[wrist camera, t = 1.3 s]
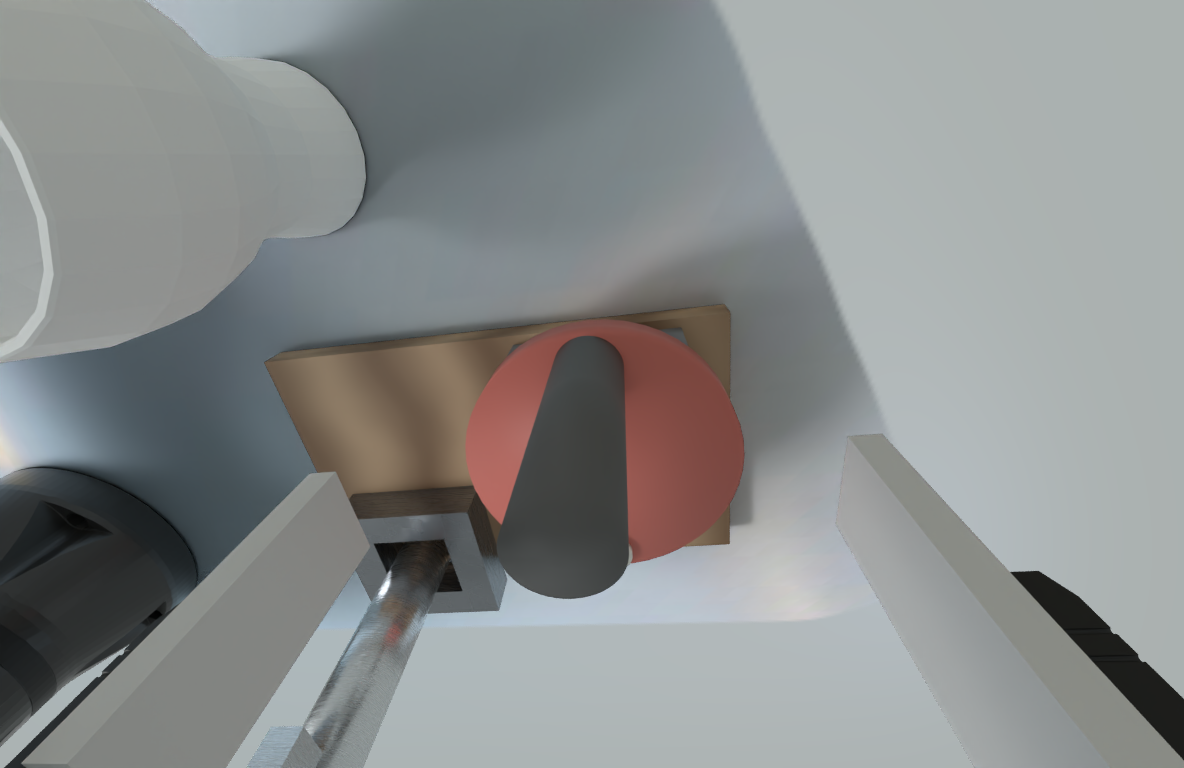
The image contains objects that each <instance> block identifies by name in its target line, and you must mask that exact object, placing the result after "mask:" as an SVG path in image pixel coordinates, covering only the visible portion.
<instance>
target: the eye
mask: <svg viewBox="0 0 1184 768" xmlns="http://www.w3.org/2000/svg"><path fill="white" fill-rule="evenodd" d="M349 501H350V504H351V506H352V508H353V510H354V512H355V514H356V517H357V519H358V521H359V523H360V525H361V527H362V529H363V532H364V534H365V536H366V538H367V540H368V542H369V545H370V548H369V550H368V551H367V553H366V554H365V556H364V557H363V559H362V560H361V562H360V563H359V565H358V566H357V568H356V569H355V570H356V572H357V574H358V576H359V578H360V580H361V582H362V584H363V586H364V588H365V590H366V592H367V594H368V596H369V598H370V600H371V602H372V600H373V598H374V596H375V594H376V593H377V591H378V589H379V587H380V585H381V584H382V582H383V580H384V578H385V577H386V575H387V573H388V571H389V569H390V568H391V566H392V564H393V562H394V560H395V559H396V557H397V555H398V553H399V551H400V550H401V548H402V546H403V542H409V541H426V540H442V539H444V541H445V544H446V547H447V549H448V552H449V555H450V558H451V560H452V562H449V564H448V566H447V568H446V571H445V573H444V575H443V578H442V580H441V583H440V585H439V587H438V590H437V592H436V595H435V597H434V599H433V602H432V604H431V607H430V609H429V611H428V614H429V613H453V612H477V611H499V608H500V605H501V601H502V597H503V593H504V589H505V586H506V582H507V578H506V575H505V571H504V568H503V566H502V564H501V563H500V560H499V557H498V553H497V544H496V541H495V538H494V534H493V531H492V528H491V524H490V521H489V518H488V514H487V511H486V508H485V505H484V504H483V503H482V501H481V499H480V497H479V496H478V494H477V492H476V490H475V488H474V485H473V486H459V487H445V488H431V489H417V490H403V491H389V492H375V493H361V494H353V495H352V496H351V497H350V498H349Z"/></svg>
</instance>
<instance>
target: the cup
mask: <svg viewBox="0 0 1184 768" xmlns="http://www.w3.org/2000/svg"><path fill="white" fill-rule="evenodd" d="M365 181H366V172H365V159H364V153H363V150H362V147H361V143H360V140H359V137H358V134H357V131H356V129H355V127H354V126H353V124H352V122H351V120H350V118H349V116H348V115H347V113H346V111H345V109H344V108H343V107H342V106H341V104H340V103H339V102H338V101H337V100H336V98H335V97H334V96H333V95H332V94H331V93H330V91H329V90H328V89H327V88H326V87H325V86H323V85H322V84H321V83H319V82H318V81H317V80H316V79H314V78H313V77H312V76H310V75H309V74H308V73H307V72H304V71H302V70H300V69H298V68H296V67H293V66H291V65H289V64H287V63H285V62H279V61H273V60H266V59H259V58H248V57H214V56H212V55H209V54H207V53H206V52H205V51H204V50H203V49H202V48H201V47H200V46H199V45H198V44H197V43H196V42H195V41H194V40H193V39H192V38H191V37H190V36H189V35H188V34H187V33H186V32H185V31H184V30H183V29H182V28H181V27H180V26H179V25H178V24H176V23H175V22H174V21H172V20H171V19H170V18H168V17H167V16H166V15H164V14H163V13H162V12H160V11H159V10H158V9H156V8H155V7H154V6H152V5H151V4H150V3H148V2H147V1H146V0H0V363H4V362H11V361H18V360H25V359H32V358H39V357H46V356H53V355H60V354H67V353H74V352H81V351H87V350H94V349H101V348H108V347H113V346H115V345H118V344H121V343H123V342H126V341H128V340H131V339H134V338H136V337H139V336H142V335H144V334H147V333H149V332H152V331H155V330H157V329H160V328H163V327H165V326H168V325H170V324H173V323H175V322H177V321H179V320H181V319H183V318H185V317H187V316H189V315H192V314H194V313H196V312H198V311H200V310H202V309H203V308H204V307H205V306H206V305H207V304H208V303H209V302H210V301H212V300H213V299H214V298H215V297H216V296H217V295H218V294H219V293H220V292H222V291H223V290H224V289H225V288H226V287H227V286H228V285H229V284H230V283H232V282H233V281H234V280H235V279H236V278H237V277H238V276H239V275H240V274H241V273H242V272H243V270H244V269H245V268H246V267H247V266H248V265H249V264H250V263H251V262H252V261H253V260H254V259H255V257H256V255H257V253H258V251H259V249H260V246H261V244H262V242H263V241H264V240H266V239H268V238H303V237H313V236H321V235H327V234H329V233H331V232H333V231H335V230H337V229H339V228H341V227H343V226H344V225H345V224H346V223H347V222H348V221H349V220H350V219H351V218H352V217H353V216H354V214H355V212H356V210H357V208H358V206H359V204H360V202H361V200H362V198H363V192H364V187H365Z"/></svg>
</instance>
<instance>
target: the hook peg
mask: <svg viewBox="0 0 1184 768" xmlns="http://www.w3.org/2000/svg"><path fill="white" fill-rule="evenodd" d="M450 559H451V558H450V555H449V552H448V549H447V547H446V544H445V541H444V539H442V540H426V541H409V542H404V544H403V546H402V548H401V550H400V551H399V553H398V555H397V557H396V559H395V560H394V562H393V564H392V566H391V568H390V569H389V571H388V573H387V575H386V577H385V578H384V580H383V582H382V584H381V585H380V587H379V589H378V591H377V593H376V594H375V596H374V598H373V600H372V602H371V603H370V605H369V607H368V609H367V611H366V612H365V614H364V616H363V618H362V620H361V621H360V623H359V625H358V627H357V629H356V630H355V632H354V634H353V636H352V638H351V639H350V641H349V643H348V645H347V647H346V648H345V650H344V652H343V654H342V656H341V657H340V659H339V661H338V663H337V665H336V666H335V668H334V670H333V672H332V674H331V675H330V677H329V679H328V681H327V683H326V684H325V686H324V688H323V690H322V692H321V694H320V695H319V697H318V699H317V701H316V703H315V704H314V706H313V708H312V710H311V711H310V713H309V715H308V717H307V719H306V720H305V722H304V724H303V726H287V727H285V726H284V727H271V728H270V730H269V731H268V733H267V734H266V736H265V738H264V739H263V741H262V743H261V744H260V746H259V748H258V749H257V751H256V753H255V754H254V756H253V758H252V759H251V761H250V762H249V764H248V766H247V767H246V768H363V767H364V764H365V762H366V759H367V757H368V755H369V752H370V750H371V747H372V745H373V743H374V740H375V738H376V736H377V733H378V731H379V728H380V726H381V723H382V721H383V719H384V716H385V714H386V712H387V709H388V707H389V704H390V702H391V700H392V697H393V695H394V693H395V690H396V688H397V685H398V683H399V681H400V678H401V675H402V673H403V671H404V669H405V666H406V664H407V661H408V659H409V657H410V654H411V652H412V649H413V647H414V645H415V642H416V640H417V638H418V635H419V633H420V630H421V628H422V626H423V623H424V621H425V618H426V616H427V614H428V611H429V609H430V607H431V604H432V602H433V599H434V597H435V595H436V592H437V590H438V587H439V585H440V583H441V580H442V578H443V575H444V573H445V571H446V568H447V566H448V564H449V561H450Z"/></svg>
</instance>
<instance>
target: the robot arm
mask: <svg viewBox="0 0 1184 768" xmlns="http://www.w3.org/2000/svg"><path fill="white" fill-rule="evenodd" d="M836 526H837V528H838V529H839V531H840V533H841V535H842V536H843V538H844V540H845V542H846V543H847V545H848V547H849V549H850V550H851V552H852V554H853V556H854V557H855V559H856V561H857V563H858V564H859V566H860V568H861V570H862V571H863V573H864V575H865V577H866V578H867V580H868V582H869V584H870V585H871V587H872V589H873V591H874V592H875V594H876V596H877V598H878V599H879V601H880V603H881V605H882V607H883V608H884V610H885V612H886V613H887V615H888V617H889V619H890V621H891V622H892V624H893V626H894V628H895V629H896V631H897V633H898V634H899V636H900V638H901V640H902V642H903V643H904V645H905V647H906V648H907V650H908V652H909V654H910V655H911V657H912V659H913V661H914V663H915V664H916V666H917V668H918V670H919V671H920V673H921V675H922V677H923V678H924V680H925V682H926V684H927V685H928V687H929V689H930V691H931V692H932V694H933V696H934V698H935V699H936V701H937V703H938V705H939V706H940V708H941V710H942V712H943V713H944V715H945V717H946V718H947V720H948V722H949V724H950V726H951V728H952V729H953V731H954V733H955V734H956V736H957V738H958V740H959V741H960V743H961V745H962V747H963V749H964V750H965V752H966V754H967V756H968V757H969V759H970V761H971V762H972V764H973V766H974V768H1184V699H1183V698H1182V697H1181V696H1180V695H1179V694H1178V693H1177V692H1176V691H1175V690H1174V689H1173V688H1172V687H1171V686H1170V685H1169V684H1168V683H1167V682H1166V681H1165V680H1164V679H1163V678H1162V677H1161V676H1160V675H1159V674H1158V673H1156V671H1154V669H1152V668H1151V667H1150V666H1149V665H1148V664H1147V663H1146V662H1142V661H1141V660H1140V659H1139V658H1138V654H1137V653H1136V652H1135V651H1134V650H1133V649H1132V648H1131V647H1130V646H1129V645H1128V644H1127V643H1126V642H1125V641H1124V640H1123V639H1121V637H1120V636H1119V635H1117V634H1113V633H1112V632H1111V630H1110V627H1109V626H1108V625H1107V624H1106V623H1105V622H1104V621H1103V620H1102V619H1101V618H1100V617H1099V616H1098V615H1097V614H1096V613H1095V612H1094V611H1093V610H1092V609H1091V608H1090V607H1089V606H1088V605H1087V604H1086V603H1085V602H1084V601H1083V600H1082V599H1081V598H1079V597H1078V596H1077V595H1075V594H1074V593H1072V592H1070V591H1069V590H1067V589H1066V588H1064V587H1063V586H1061V585H1060V584H1058V583H1056V582H1055V581H1053V580H1052V579H1050V578H1049V577H1047V576H1046V575H1044V574H1042V573H1041V572H1039V571H1026V572H1009V571H1008V570H1007V569H1006V568H1005V566H1004V565H1003V564H1002V563H1001V562H1000V561H999V560H998V559H997V558H996V557H995V556H994V555H993V553H992V552H991V551H990V550H989V549H988V548H987V547H986V546H985V545H984V544H983V543H982V541H981V540H980V539H979V538H978V537H977V536H976V535H975V534H974V533H973V532H972V531H971V530H970V528H969V527H968V526H967V525H966V524H965V523H964V522H963V521H962V520H961V519H960V518H959V517H958V515H957V514H956V513H955V512H954V511H953V510H952V509H951V508H950V507H949V506H948V505H947V504H946V502H945V501H944V500H943V499H942V498H941V497H940V496H939V495H938V494H937V493H936V492H935V491H934V489H933V488H932V487H931V486H930V485H929V484H928V483H927V482H926V481H925V480H924V479H923V478H922V476H921V475H920V474H919V473H918V472H917V471H916V470H915V469H914V468H913V467H912V466H911V465H910V463H909V462H908V461H907V460H906V459H905V458H904V457H903V456H902V455H901V454H900V453H899V452H898V450H897V449H896V448H895V447H894V446H893V445H892V444H891V443H890V442H889V441H888V440H887V439H886V437H885V436H884V435H883V434H873V435H859V436H848V438H847V446H846V453H845V460H844V467H843V475H842V482H841V489H840V496H839V504H838V511H837V518H836ZM369 548H370V545H369V542H368V540H367V538H366V536H365V534H364V532H363V529H362V527H361V525H360V523H359V521H358V519H357V517H356V514H355V512H354V510H353V508H352V506H351V504H350V501H349V499H348V497H347V495H346V493H345V491H344V489H343V486H342V484H341V482H340V480H339V478H338V476H337V473H336V472H323V473H310V474H309V475H308V476H307V477H306V478H305V479H304V480H303V481H302V482H301V483H300V484H299V485H298V486H297V487H296V488H295V489H294V490H293V491H292V492H291V493H290V494H289V495H288V496H287V497H286V498H285V499H284V500H283V501H282V502H281V503H280V504H279V505H278V506H277V507H276V508H275V509H274V510H273V511H272V512H271V513H270V514H269V515H268V516H267V517H266V518H265V519H264V520H263V521H262V522H261V523H260V524H259V525H258V526H257V527H256V528H255V529H254V530H253V531H252V532H251V533H250V534H249V535H248V536H247V537H246V538H245V539H244V540H243V541H242V542H241V543H240V544H239V545H238V546H237V547H236V548H235V549H234V550H233V551H232V552H231V553H230V554H229V555H228V556H227V557H226V558H225V559H224V560H223V561H222V562H221V563H220V564H219V565H218V566H217V567H216V568H215V569H214V570H213V571H212V572H211V573H210V574H209V575H208V576H207V577H206V578H205V579H204V580H203V581H202V582H201V583H200V584H199V585H198V586H197V587H196V588H195V586H196V580H197V572H196V567H195V563H194V560H193V557H192V555H191V553H190V551H189V549H188V548H187V546H186V544H185V543H184V541H183V540H182V539H181V537H180V536H179V535H178V534H177V532H176V531H175V530H174V529H173V528H172V527H171V526H170V525H169V524H168V523H167V522H166V521H165V520H164V519H163V518H162V517H161V516H159V515H158V514H157V513H156V512H154V511H153V510H152V509H151V508H149V507H148V506H146V505H145V504H144V503H142V502H141V501H139V500H138V499H136V498H134V497H133V496H131V495H129V494H128V493H126V492H124V491H122V490H120V489H118V488H116V487H114V486H112V485H110V484H107V483H105V482H103V481H100V480H98V479H95V478H92V477H89V476H86V475H82V474H79V473H75V472H71V471H66V470H59V469H51V468H31V469H24V470H19V471H16V472H13V473H11V474H8V475H7V476H5V477H3V478H1V479H0V747H1V746H2V745H3V744H4V743H5V742H6V741H7V740H8V739H9V738H10V737H11V736H12V735H13V734H14V733H15V732H16V731H17V730H18V729H19V728H20V727H21V726H22V725H23V724H24V723H26V722H27V721H28V719H29V718H30V717H31V716H33V715H34V714H35V713H36V712H37V711H38V710H39V709H40V708H41V707H42V706H43V705H44V704H45V703H46V702H47V701H48V700H49V699H50V698H52V697H53V696H54V695H55V694H56V693H57V692H58V691H59V690H60V689H61V688H62V687H64V686H65V685H66V684H68V683H69V682H70V681H72V680H74V679H75V678H76V677H78V676H80V675H81V674H83V673H85V672H86V671H88V670H90V669H91V668H93V667H94V666H96V665H98V664H99V663H101V662H102V661H104V660H106V659H107V658H109V657H110V656H112V655H114V654H115V653H117V652H118V651H120V650H121V649H123V648H125V647H126V646H128V645H129V646H128V647H127V648H126V649H125V650H124V654H123V655H119V656H118V657H116V659H115V660H113V662H111V664H109V665H108V666H107V667H106V668H105V669H104V670H103V671H102V675H101V676H100V677H96V678H95V679H94V680H93V681H92V682H91V683H90V684H89V685H88V686H87V687H86V688H85V689H84V690H83V691H82V692H81V693H80V694H79V695H78V696H77V697H76V698H75V699H74V700H73V701H72V702H71V703H70V704H69V705H68V706H67V707H66V708H65V709H64V710H63V711H62V712H61V713H60V714H59V715H58V716H57V717H56V718H55V719H54V720H53V721H51V722H50V724H48V726H46V727H45V729H43V730H42V731H41V732H40V733H39V734H38V735H37V736H36V737H35V738H34V739H33V740H32V741H31V742H30V743H29V744H28V745H27V746H26V747H25V748H24V749H23V750H22V751H21V752H20V753H19V754H18V755H17V756H16V757H15V758H14V759H13V760H12V761H11V762H10V763H9V764H8V765H7V766H6V767H4V768H226V767H227V765H228V764H229V762H230V761H231V759H232V757H233V756H234V755H235V753H236V751H237V750H238V748H239V747H240V745H241V744H242V742H243V740H244V739H245V738H246V736H247V735H248V733H249V731H250V730H251V728H252V727H253V725H254V724H255V722H256V721H257V719H258V718H259V716H260V715H261V713H262V712H263V710H264V709H265V707H266V706H267V704H268V703H269V701H270V699H271V698H272V696H273V695H274V693H275V692H276V690H277V689H278V687H279V686H280V684H281V683H282V681H283V680H284V678H285V676H286V675H287V673H288V672H289V670H290V669H291V667H292V666H293V664H294V663H295V661H296V660H297V658H298V656H299V655H300V653H301V652H302V650H303V649H304V647H305V646H306V644H307V642H308V641H309V640H310V638H311V637H312V635H313V633H314V632H315V631H316V629H317V628H318V626H319V624H320V623H321V621H322V620H323V618H324V617H325V615H326V614H327V612H328V611H329V609H330V608H331V606H332V605H333V603H334V602H335V600H336V598H337V597H338V595H339V594H340V592H341V591H342V589H343V588H344V586H345V585H346V583H347V582H348V580H349V579H350V577H351V576H352V574H353V572H354V571H355V569H356V568H357V566H358V565H359V563H360V562H361V560H362V559H363V557H364V556H365V554H366V553H367V551H368V550H369ZM194 588H195V589H194Z"/></svg>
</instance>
